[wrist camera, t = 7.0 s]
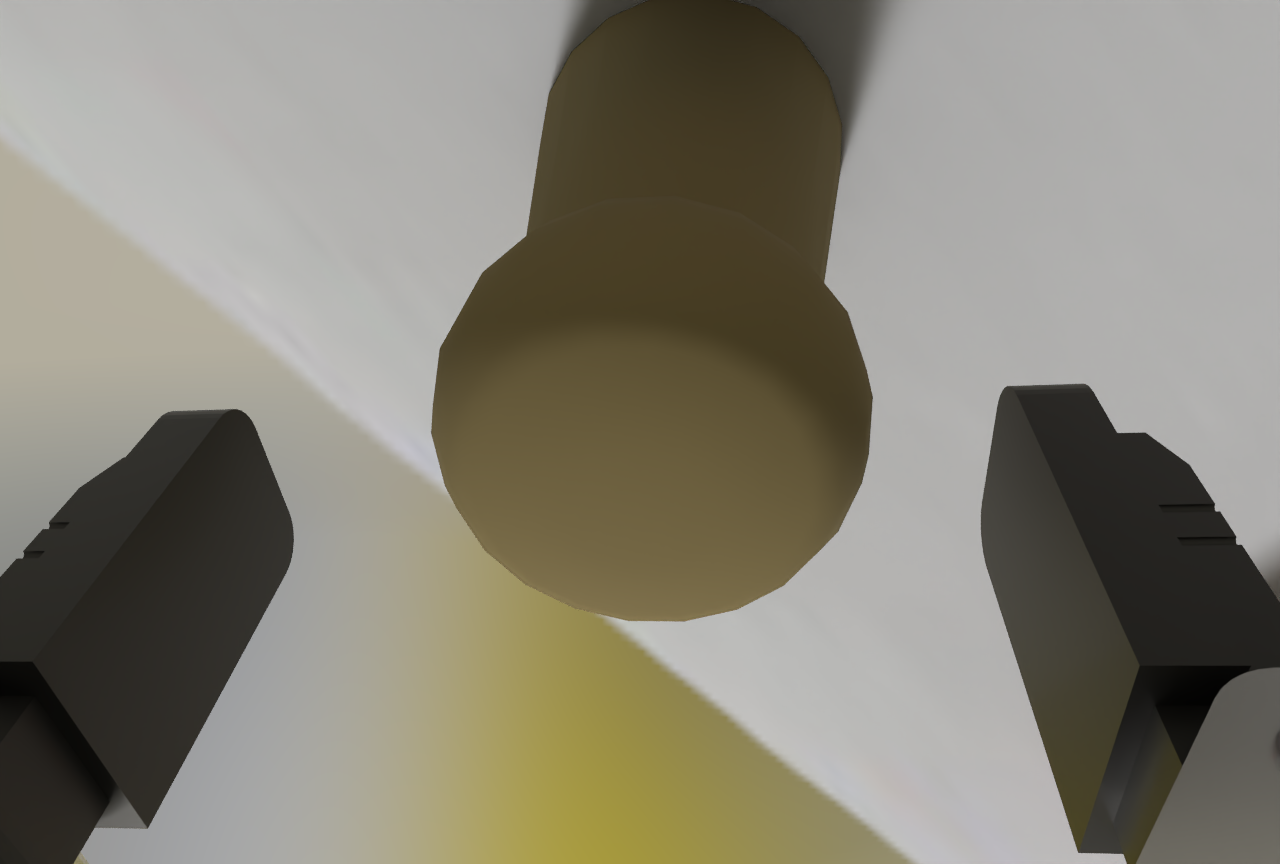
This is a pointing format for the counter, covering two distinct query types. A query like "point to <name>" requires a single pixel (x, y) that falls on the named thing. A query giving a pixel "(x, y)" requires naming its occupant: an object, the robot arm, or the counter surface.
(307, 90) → the counter surface
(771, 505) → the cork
